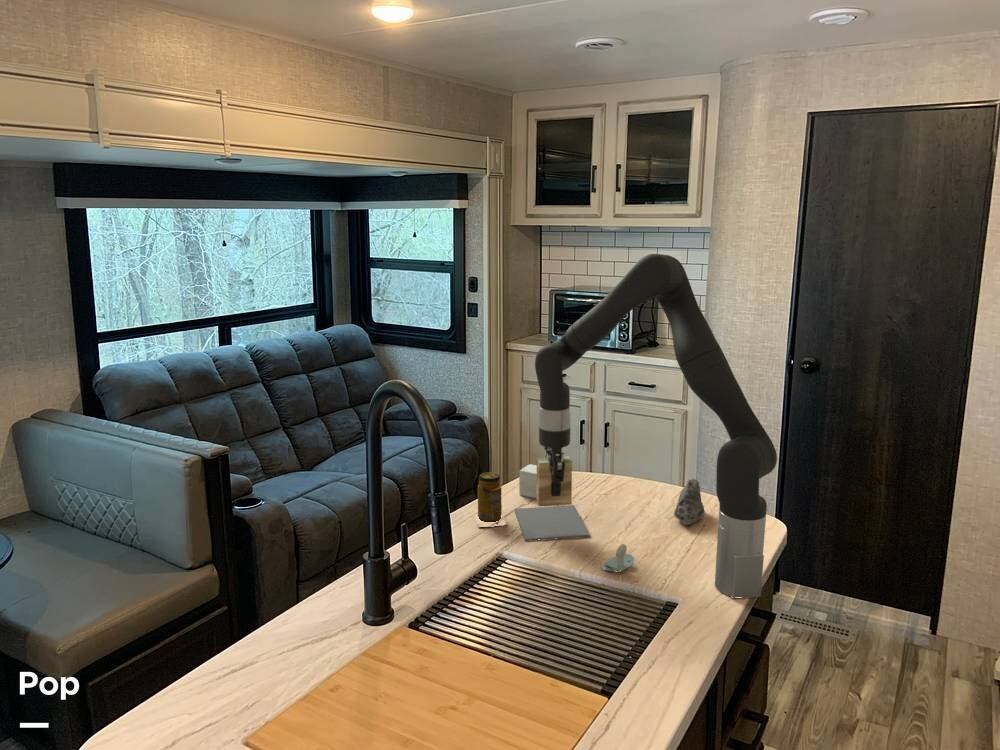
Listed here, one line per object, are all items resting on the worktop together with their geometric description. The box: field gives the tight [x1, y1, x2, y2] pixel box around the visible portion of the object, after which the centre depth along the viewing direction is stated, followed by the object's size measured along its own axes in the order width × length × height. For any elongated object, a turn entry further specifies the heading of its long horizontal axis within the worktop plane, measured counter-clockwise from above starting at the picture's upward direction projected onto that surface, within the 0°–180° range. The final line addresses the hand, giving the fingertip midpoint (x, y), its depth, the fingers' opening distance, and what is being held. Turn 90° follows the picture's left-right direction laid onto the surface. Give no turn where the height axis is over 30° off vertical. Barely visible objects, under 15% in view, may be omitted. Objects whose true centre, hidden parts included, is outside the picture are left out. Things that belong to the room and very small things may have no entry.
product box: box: [518, 463, 537, 499], centre depth 211 cm, size 6×6×7 cm
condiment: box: [477, 471, 503, 522], centre depth 194 cm, size 7×8×12 cm
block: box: [536, 455, 573, 507], centre depth 186 cm, size 4×8×11 cm, turn 97°
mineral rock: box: [673, 477, 705, 526], centre depth 194 cm, size 13×11×10 cm
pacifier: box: [601, 543, 635, 572], centre depth 170 cm, size 7×6×6 cm
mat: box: [513, 504, 591, 541], centre depth 193 cm, size 18×16×1 cm
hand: (554, 492), depth 187 cm, fingers closed on block, 3 cm apart
